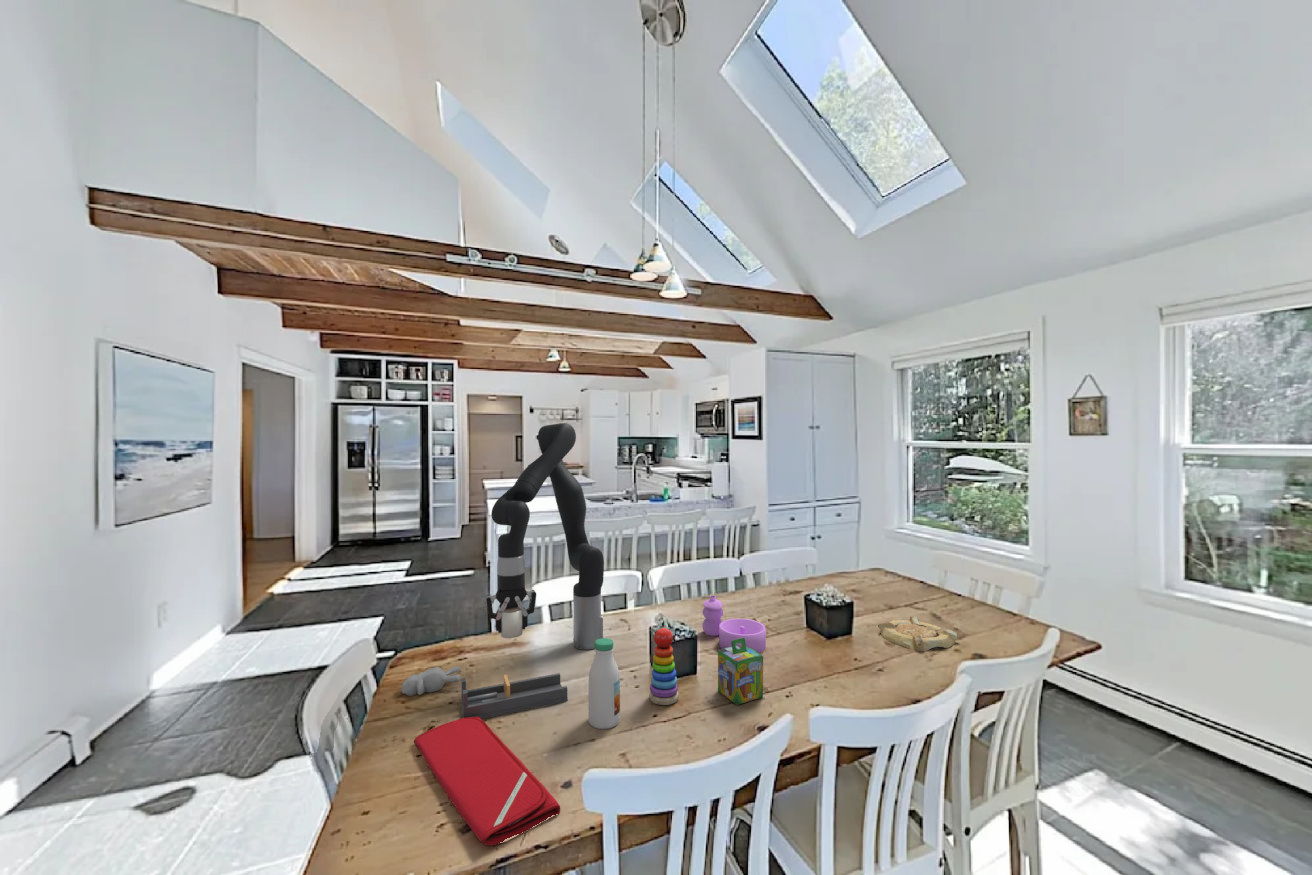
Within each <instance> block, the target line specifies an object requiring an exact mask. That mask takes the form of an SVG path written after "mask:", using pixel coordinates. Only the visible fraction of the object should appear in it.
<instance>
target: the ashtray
mask: <svg viewBox="0 0 1312 875" xmlns="http://www.w3.org/2000/svg"><path fill="white" fill-rule="evenodd" d="M877 627H878V628H879V632H880V636H881V637H882V638H883V639H884V640H886V641H888V642H890V643H893V644H895V645H899V646H902V647H903V648H905V649H909V650H913V651H917V652H925V651H929V650H930V649H933V648H938V647H939V648H945V649H949V648H951V647H952V646H954V645H955V644H956V641H957V639H958V633H957V631H954V630H952V629H950V628H947V627H940V626H938V625H934V624H932V623H927V622H924V621H920V620H919V618H918V617H917V616H915V615H911V616H910V617H909V620H907V619H898V620H897V619H896V620H891V621H886V622H883V623H879V624H877Z"/></svg>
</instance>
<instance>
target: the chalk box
mask: <svg viewBox="0 0 1312 875" xmlns="http://www.w3.org/2000/svg"><path fill="white" fill-rule="evenodd" d="M737 643H741V644H742V645H737V646H736V644H737ZM731 644H732V647H728V648H723V649H722V648H720V649H718V650H717V691H718V692H719V693H720V694H722V695H723V696H724V697H726V698H727V699H728V700H730V701H731V702H732V703H734V704H735V705H736V706H738V705H741V704H745V703H748V702H751V701H755V700H758V699H759V700H760V699H763V697H764V656H763V654H761V653H757V652H756V651H755V650H753V649H751V648H748V647H746V642H745V638H740V639H736V640H732V642H731Z"/></svg>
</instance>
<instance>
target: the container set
mask: <svg viewBox="0 0 1312 875" xmlns="http://www.w3.org/2000/svg"><path fill="white" fill-rule="evenodd" d="M702 606H703V609H702V615H703V618H705V619H704V620H703V622H702V624H701V626H702V630H703V632H704V634H706V635H707V636H710V637H718V638H719V639H718V641H719V643H718V644H719V648H720V649H723V648H728V647H732V644H731V642H732V640H736V639H740V638H745V642H746V647H748V648H751V649H753V650H755V651H756V652H757V653H759V654H761V653H763V652H764V651H765V650H766V646H767V644H766V640H767V638H766V636H767V635H766V632H767V631H766V630H767V629H766V626H765V624H763V623H761V622H759V621H757V620H753V619H751V618H750V619H748V618H729V619H725V620H722V619H721V618H723V616H724V610H723V608H722V607H723V603H722V601H721V600H719V599H717V596H716V595H709V599H706V600H705V601H704V602H703V605H702ZM737 645H742V644H741V643H737V644H736V646H737Z"/></svg>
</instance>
